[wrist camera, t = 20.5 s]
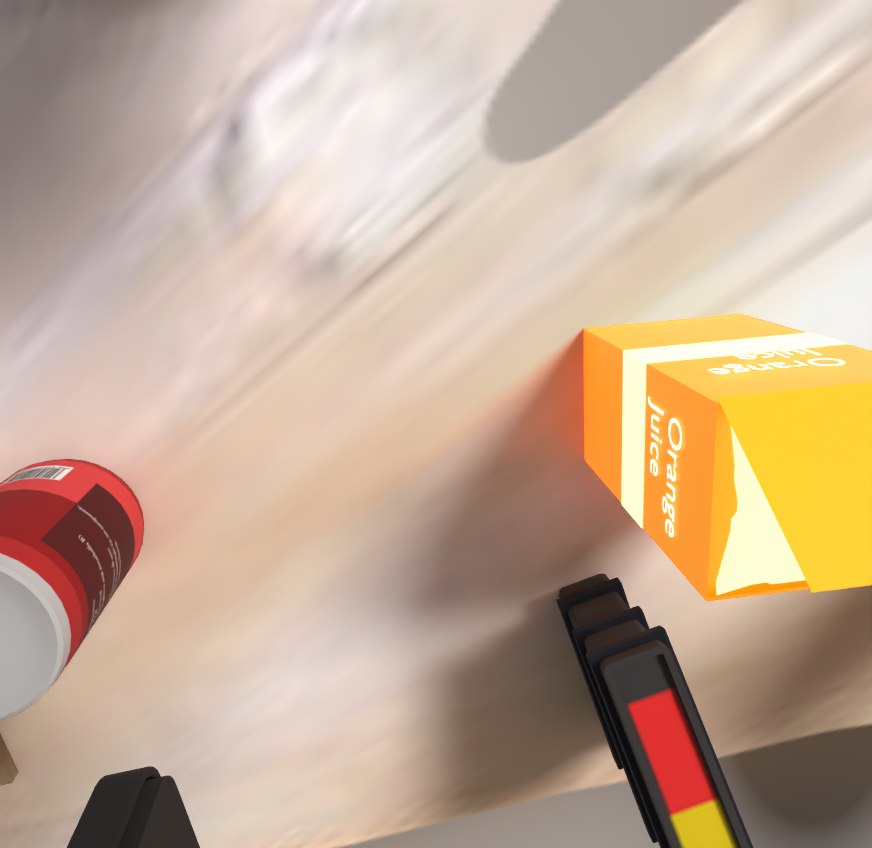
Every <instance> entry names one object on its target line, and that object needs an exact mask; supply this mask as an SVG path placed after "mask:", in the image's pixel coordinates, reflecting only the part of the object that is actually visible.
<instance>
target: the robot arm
mask: <svg viewBox="0 0 872 848" xmlns="http://www.w3.org/2000/svg"><path fill="white" fill-rule="evenodd" d="M67 848H200V846H199V844H198V841H197V838H196V836H195V833H194V830H193V828H192V825H191V823H190V820H189V817H188V815H187V812H186V809H185V807H184V804H183V802H182V799H181V796H180V794H179V791H178V788H177V786H176V783H175V781H174V779H173V778H172V777H171V776H163V777H161V776H160V774H159V772H158V770H157V769H155V768H154V767H144V768H140V769H135V770H130V771H125V772H121V773H116V774H111V775H107V776H104V777H103V778H101V779H100V780H99V782H98V783H97V785H96V786H95V788H94V790H93V793H92V795H91V797H90V799H89V801H88V803H87V805H86V808H85V810H84V812H83V814H82V816H81V818H80V820H79V822H78V825H77V827H76V829H75V831H74V833H73V835H72V837H71V840H70V842H69V844H68V846H67Z"/></svg>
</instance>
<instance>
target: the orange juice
mask: <svg viewBox="0 0 872 848" xmlns="http://www.w3.org/2000/svg"><path fill="white" fill-rule="evenodd" d="M584 460H585V461H586V462H587V464H588V465H589V466H590V467H591V468H592V469H593V470H594V472H595V473H596V474H597V475H598V476H599V477H600V479H601V480H602V481H603V482H604V483H605V484H606V486H607V487H608V488H609V489H610V490H611V491H612V493H613V494H614V495H615V496H616V497H617V498H618V499H619V501H620V502H621V505H622V506H623V507H624V508H625V509H626V511H627V512H628V513H629V514H630V515H631V516H632V518H633V519H634V520H635V521H636V522H637V523H638V525H639V526H640V527H641V528H644V530H645V531H646V532H647V533H648V534H649V535H650V537H651V538H652V539H653V540H654V541H655V542H656V544H657V545H658V546H659V547H660V548H661V549H662V551H663V552H664V553H665V554H666V555H667V556H668V557H669V559H670V560H671V561H672V562H673V563H674V564H675V566H676V567H677V568H678V569H679V570H680V571H681V573H682V574H683V575H684V576H685V577H686V578H687V580H688V581H689V582H690V583H691V584H692V585H693V586H694V588H695V589H696V590H697V591H698V592H699V593H700V595H701V596H702V597H703V598H704V599H705V600H706V601H714V600H722V599H730V598H739V597H747V596H755V595H763V594H771V593H780V592H788V591H796V590H804V589H810V590H811V592H820V591H828V590H836V589H844V588H852V587H861V586H869V585H872V351H870V350H866V349H863V348H859V347H856V346H852V345H849V344H848V343H846V342H842V341H839V340H835V339H832V338H828V337H825V336H821V335H818V334H814V333H811V332H810V333H806V332H803V331H799V330H796V329H792V328H789V327H785V326H782V325H778V324H775V323H771V322H768V321H764V320H761V319H757V318H754V317H750V316H747V315H743V314H734V315H723V316H712V317H701V318H690V319H679V320H669V321H658V322H647V323H636V324H625V325H614V326H603V327H593V328H584Z"/></svg>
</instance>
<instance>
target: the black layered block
mask: <svg viewBox="0 0 872 848" xmlns="http://www.w3.org/2000/svg"><path fill="white" fill-rule="evenodd" d="M559 596H560V599H558V600H557V604H558V606H559V609H560V612H561V615H562V617H563V620H564V623H565V626H566V628H567V631H568V634H569V637H570V639H571V642H572V645H573V648H574V650H575V653H576V656H577V659H578V661H579V664H580V667H581V670H582V672H583V675H584V678H585V681H586V684H587V686H588V689H589V692H590V695H591V697H592V700H593V703H594V706H595V708H596V711H597V714H598V717H599V719H600V722H601V725H602V728H603V730H604V733H605V736H606V739H607V741H608V744H609V747H610V750H611V752H612V755H613V758H614V760H615V762H616V764H617V767H618V769H623V768H624V771H625V773H626V776H627V779H628V781H629V784H630V787H631V789H632V792H633V795H634V797H635V800H636V803H637V805H638V807H639V810H640V813H641V816H642V818H643V821H644V824H645V826H646V829H647V831H648V834H649V836H650V838H651V840H652V842H653V843H656V842H659V845H660V848H753V846H752V843H751V841H750V838H749V836H748V834H747V831H746V829H745V826H744V824H743V821H742V819H741V816H740V814H739V811H738V809H737V806H736V804H735V801H734V799H733V796H732V794H731V791H730V789H729V787H728V784H727V782H726V779H725V777H724V774H723V772H722V769H721V767H720V764H719V762H718V759H717V757H716V754H715V752H714V749H713V747H712V744H711V742H710V740H709V737H708V735H707V732H706V730H705V727H704V725H703V722H702V720H701V717H700V715H699V712H698V710H697V707H696V705H695V702H694V700H693V697H692V695H691V693H690V690H689V688H688V685H687V683H686V680H685V678H684V675H683V673H682V670H681V668H680V665H679V663H678V660H677V658H676V655H675V653H674V650H673V648H672V646H671V643H670V641H669V638H668V636H667V633H666V631H665V629H664V628H663V627H661V626H657V627H654V628H651V629H649V626H648V624H647V621H646V619H645V616H644V613H643V611H642V609H641V608H640V607H639V606H636V607H633V608H631V609H630V607H629V604H628V601H627V598H626V595H625V592H624V589H623V586H622V583H621V582H620V580H619V579H618V578H614V579H611V580H609V578H608V577H607V576H606V575H605V574H599V575H596V576H594V577H591V578H588V579H586V580H583V581H580V582H577V583H575V584H572V585H569V586H567V587H564V588H562V589H561V590H560V593H559Z"/></svg>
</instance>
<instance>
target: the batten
mask: <svg viewBox="0 0 872 848" xmlns="http://www.w3.org/2000/svg"><path fill="white" fill-rule="evenodd" d="M17 773H18V771H17V769H16V767H15V764H14V762H13V760H12V758H11V756H10V754H9V752H8V750H7V747H6V745H5V743H4V741H3V739H2V737H1V735H0V785H4V784H9V783H12V782H13V780H14V778H15V777H16V775H17Z"/></svg>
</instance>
